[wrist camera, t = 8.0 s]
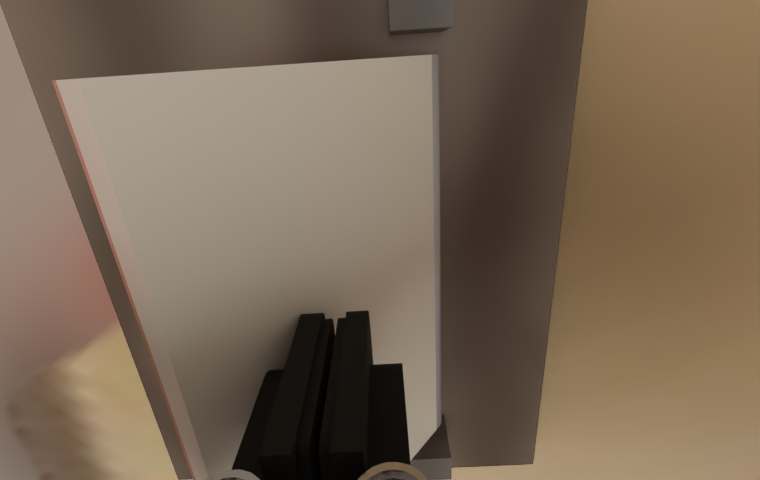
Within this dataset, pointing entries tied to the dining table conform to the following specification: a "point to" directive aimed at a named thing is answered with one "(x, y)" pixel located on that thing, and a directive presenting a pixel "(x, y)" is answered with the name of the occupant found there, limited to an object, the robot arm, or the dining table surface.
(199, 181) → the tile
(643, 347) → the dining table surface
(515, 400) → the board
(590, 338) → the dining table surface
